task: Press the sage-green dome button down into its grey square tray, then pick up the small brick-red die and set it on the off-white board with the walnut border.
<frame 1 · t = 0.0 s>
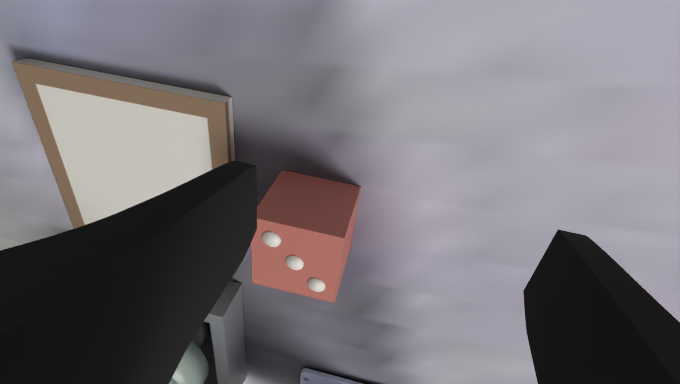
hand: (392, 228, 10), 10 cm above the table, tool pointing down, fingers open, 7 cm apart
small die: (318, 209, 23), on the table
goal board: (145, 172, 24), on the table
dome: (137, 370, 28), point 5 cm above the table, slide at 0.0 cm
grey square tray: (175, 316, 32), on the table
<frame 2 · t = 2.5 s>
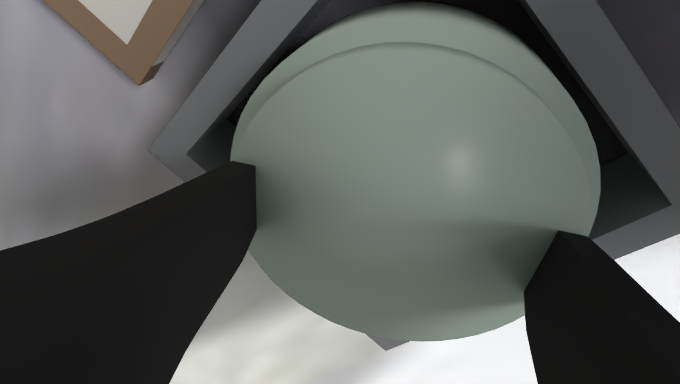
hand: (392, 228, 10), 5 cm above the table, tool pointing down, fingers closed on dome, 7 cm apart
dome: (399, 192, 11), point 4 cm above the table, slide at 1.0 cm, touching gripper
grey square tray: (408, 134, 14), on the table
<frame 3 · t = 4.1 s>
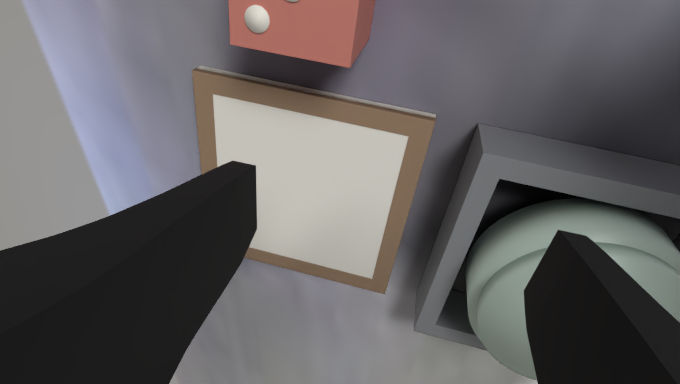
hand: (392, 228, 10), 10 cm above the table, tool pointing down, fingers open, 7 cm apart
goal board: (305, 188, 23), on the table
dome: (570, 300, 18), point 4 cm above the table, slide at 1.2 cm
grey square tray: (552, 247, 21), on the table
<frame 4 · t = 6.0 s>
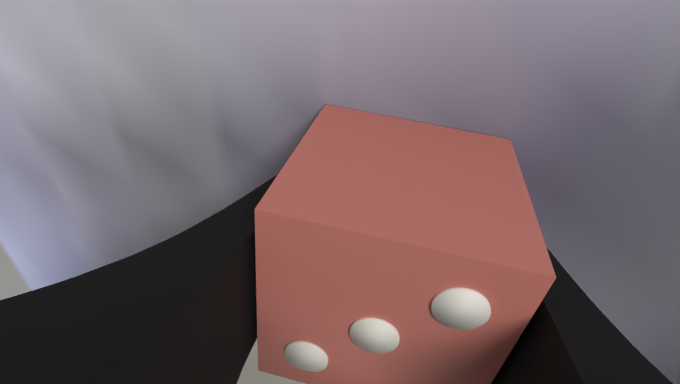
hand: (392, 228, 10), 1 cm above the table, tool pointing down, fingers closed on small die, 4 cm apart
small die: (397, 196, 11), on the table, touching gripper
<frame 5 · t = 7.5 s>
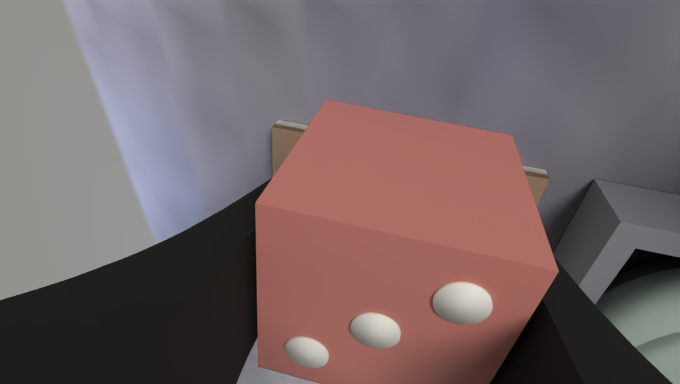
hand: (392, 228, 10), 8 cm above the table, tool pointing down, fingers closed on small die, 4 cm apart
small die: (398, 193, 11), point 7 cm above the table, touching gripper
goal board: (384, 243, 21), on the table
grey square tray: (665, 304, 19), on the table
when the fingers open (4 cm above the table, at t = 9.3 s): small die drops 1 cm, resting on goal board.
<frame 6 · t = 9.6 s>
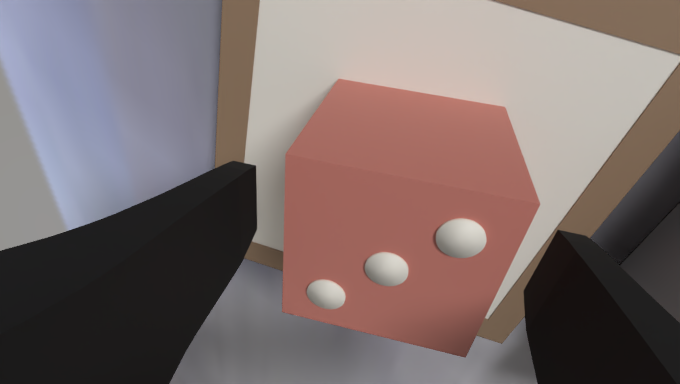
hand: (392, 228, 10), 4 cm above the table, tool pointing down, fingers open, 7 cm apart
small die: (403, 163, 12), point 1 cm above the table, touching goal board
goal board: (404, 157, 13), on the table
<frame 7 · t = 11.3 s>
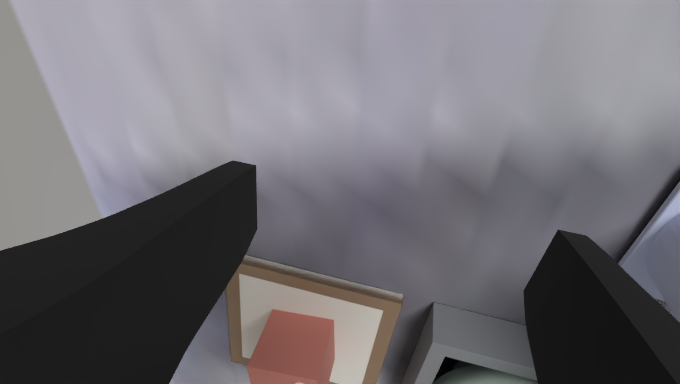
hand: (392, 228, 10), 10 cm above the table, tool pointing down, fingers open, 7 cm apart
small die: (304, 334, 29), point 1 cm above the table, touching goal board
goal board: (307, 327, 29), on the table
grey square tray: (495, 377, 28), on the table
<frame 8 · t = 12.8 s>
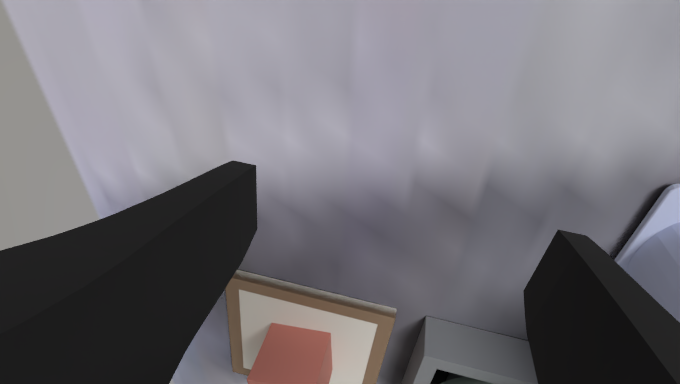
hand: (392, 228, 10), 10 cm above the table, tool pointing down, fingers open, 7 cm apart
small die: (302, 346, 30), point 1 cm above the table, touching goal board
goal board: (305, 339, 30), on the table
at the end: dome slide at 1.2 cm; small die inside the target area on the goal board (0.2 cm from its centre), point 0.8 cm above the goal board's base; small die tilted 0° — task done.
